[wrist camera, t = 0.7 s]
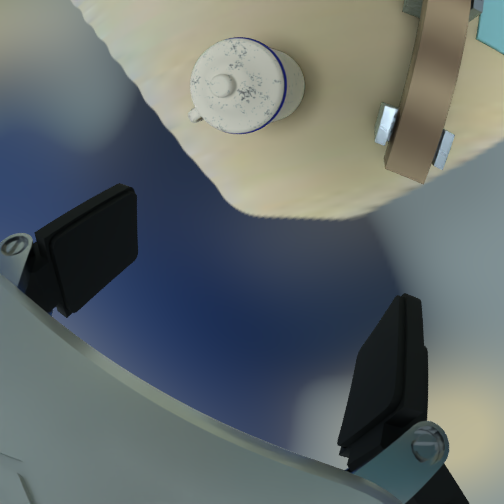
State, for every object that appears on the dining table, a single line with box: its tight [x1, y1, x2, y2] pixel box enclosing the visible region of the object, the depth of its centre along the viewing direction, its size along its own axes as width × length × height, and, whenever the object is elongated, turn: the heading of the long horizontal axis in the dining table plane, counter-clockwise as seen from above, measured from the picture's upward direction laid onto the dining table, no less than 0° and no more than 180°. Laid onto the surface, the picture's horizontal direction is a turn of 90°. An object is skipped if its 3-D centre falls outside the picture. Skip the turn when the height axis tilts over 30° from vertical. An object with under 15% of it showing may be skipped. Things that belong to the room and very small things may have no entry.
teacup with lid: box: [188, 37, 305, 134], centre depth 27 cm, size 12×9×12 cm
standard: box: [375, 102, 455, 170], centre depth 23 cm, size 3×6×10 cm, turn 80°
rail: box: [384, 0, 471, 184], centre depth 16 cm, size 20×3×4 cm, turn 170°
